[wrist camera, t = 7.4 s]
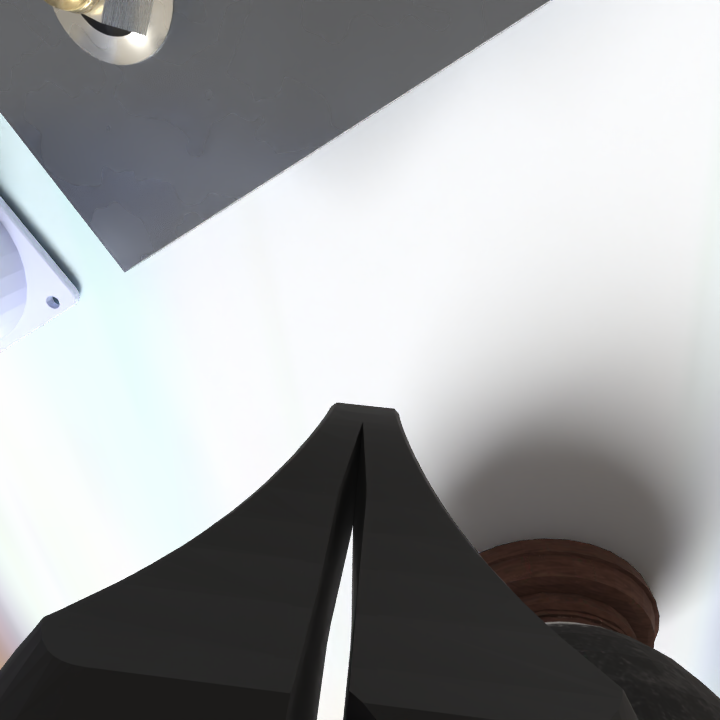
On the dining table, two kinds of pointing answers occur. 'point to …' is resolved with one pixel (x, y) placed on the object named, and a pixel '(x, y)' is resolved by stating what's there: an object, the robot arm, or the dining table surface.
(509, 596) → the robot arm
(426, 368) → the dining table surface
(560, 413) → the dining table surface
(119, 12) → the leg
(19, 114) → the bolt plate
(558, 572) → the black ball on base
